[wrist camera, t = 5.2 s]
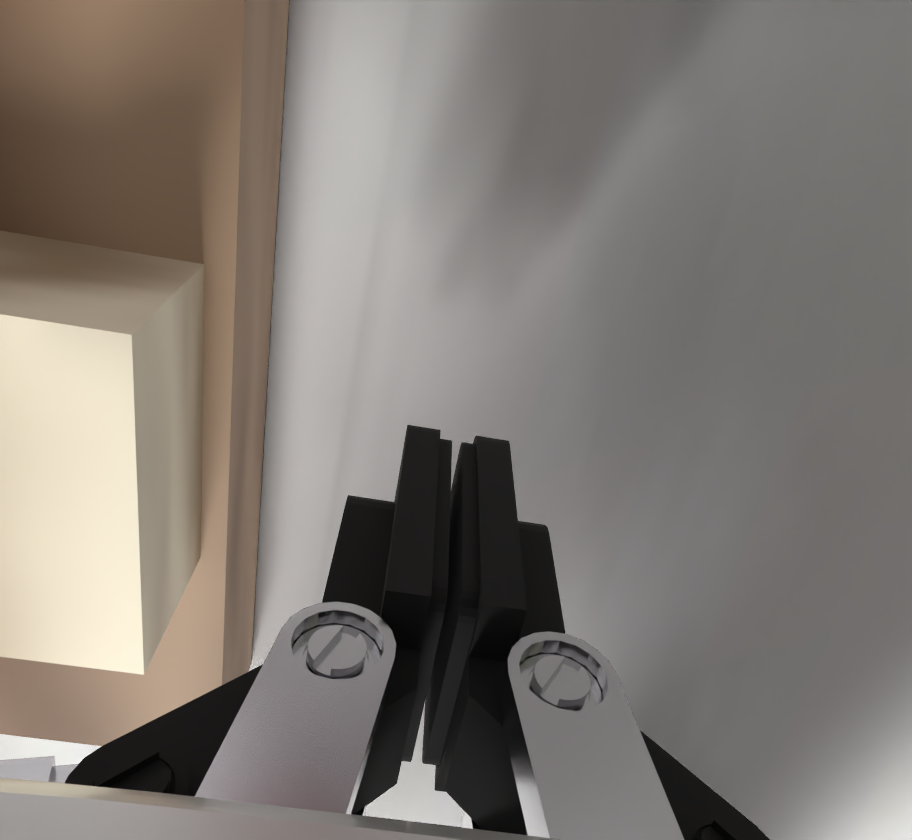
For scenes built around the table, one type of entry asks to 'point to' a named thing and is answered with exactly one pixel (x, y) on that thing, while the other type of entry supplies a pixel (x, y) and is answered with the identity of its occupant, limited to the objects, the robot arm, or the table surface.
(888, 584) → the table surface
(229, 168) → the board
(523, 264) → the table surface
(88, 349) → the birch tile
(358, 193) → the table surface
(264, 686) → the robot arm
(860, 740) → the table surface
